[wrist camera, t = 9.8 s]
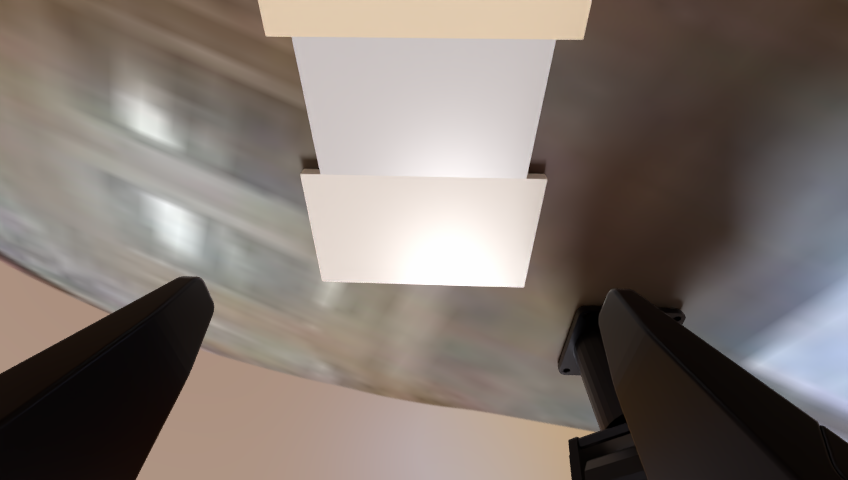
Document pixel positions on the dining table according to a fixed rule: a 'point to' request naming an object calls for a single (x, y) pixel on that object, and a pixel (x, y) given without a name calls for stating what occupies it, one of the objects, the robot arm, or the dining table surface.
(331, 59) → the dock
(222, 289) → the dining table surface
